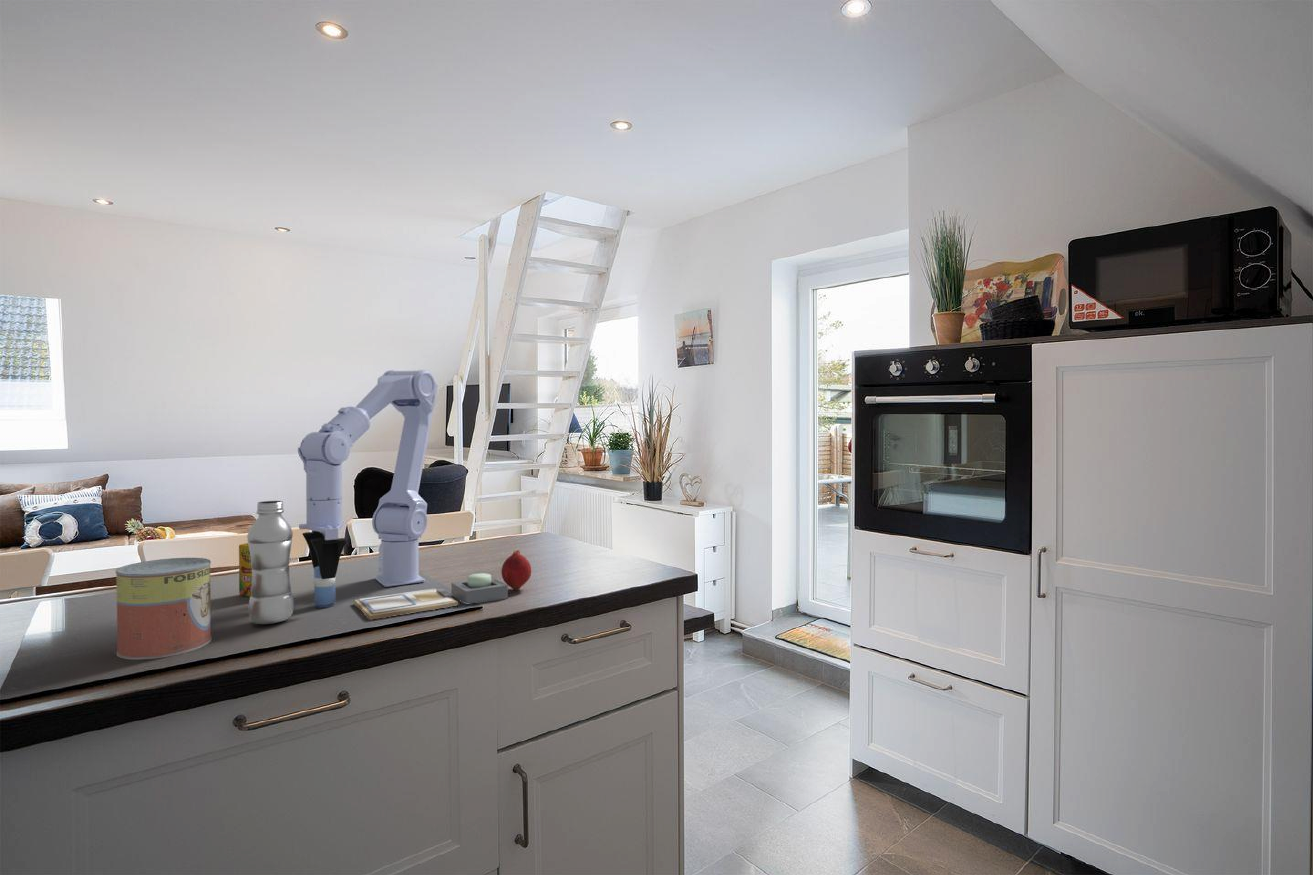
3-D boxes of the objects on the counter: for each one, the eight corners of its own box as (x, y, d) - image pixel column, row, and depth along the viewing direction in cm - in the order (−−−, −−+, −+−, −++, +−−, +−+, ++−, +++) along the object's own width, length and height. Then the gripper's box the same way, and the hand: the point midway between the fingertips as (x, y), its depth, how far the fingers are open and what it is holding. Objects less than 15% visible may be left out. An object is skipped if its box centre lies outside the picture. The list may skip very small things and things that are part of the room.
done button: (463, 585, 127) (463, 575, 127) (486, 582, 129) (486, 572, 129) (472, 590, 123) (472, 579, 123) (494, 587, 126) (494, 576, 126)
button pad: (451, 595, 127) (451, 582, 127) (491, 589, 132) (491, 576, 132) (466, 605, 121) (466, 591, 121) (507, 598, 125) (507, 585, 125)
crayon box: (238, 596, 126) (237, 534, 125) (252, 592, 128) (252, 532, 128) (265, 600, 123) (265, 537, 123) (280, 596, 126) (279, 535, 125)
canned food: (190, 656, 94) (189, 572, 93) (98, 662, 91) (97, 575, 91) (224, 631, 105) (223, 556, 104) (143, 636, 102) (142, 558, 102)
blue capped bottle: (312, 604, 120) (312, 566, 120) (333, 601, 122) (333, 564, 122) (316, 609, 117) (315, 570, 117) (337, 606, 119) (337, 567, 119)
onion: (527, 593, 129) (527, 552, 129) (498, 593, 129) (498, 552, 129) (533, 586, 135) (533, 547, 134) (505, 585, 135) (505, 546, 134)
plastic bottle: (303, 618, 112) (302, 500, 111) (268, 630, 105) (267, 505, 105) (274, 614, 114) (273, 498, 113) (238, 626, 107) (237, 503, 107)
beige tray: (354, 604, 121) (354, 596, 121) (436, 592, 129) (436, 584, 129) (369, 620, 111) (369, 612, 111) (458, 606, 120) (458, 598, 120)
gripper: (293, 496, 123) (293, 569, 123) (305, 504, 111) (305, 585, 111) (335, 494, 127) (335, 564, 127) (351, 501, 115) (351, 579, 115)
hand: (324, 574), depth 119 cm, fingers open, 7 cm apart
